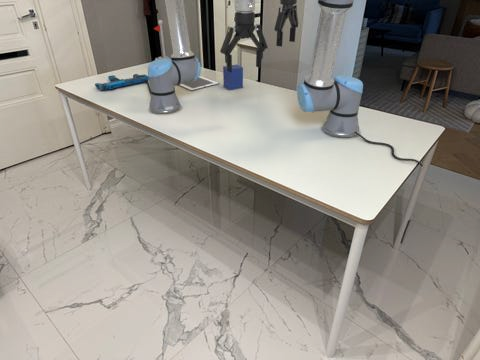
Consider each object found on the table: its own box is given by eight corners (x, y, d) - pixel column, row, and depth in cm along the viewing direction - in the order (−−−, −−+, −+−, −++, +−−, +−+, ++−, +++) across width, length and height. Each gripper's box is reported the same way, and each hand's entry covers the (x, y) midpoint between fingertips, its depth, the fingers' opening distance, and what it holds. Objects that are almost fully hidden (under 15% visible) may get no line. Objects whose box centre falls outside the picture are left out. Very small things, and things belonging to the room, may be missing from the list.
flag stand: (172, 63, 247) (168, 18, 231) (176, 67, 237) (171, 20, 221) (154, 64, 243) (148, 19, 227) (158, 69, 233) (151, 21, 217)
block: (236, 84, 206) (236, 64, 199) (242, 87, 200) (242, 67, 194) (223, 86, 202) (223, 66, 196) (229, 90, 197) (228, 69, 190)
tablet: (163, 78, 216) (163, 77, 215) (189, 72, 227) (189, 71, 226) (191, 90, 195) (191, 90, 195) (219, 83, 206) (219, 83, 206)
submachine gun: (139, 68, 225) (158, 74, 208) (140, 74, 226) (158, 80, 210) (87, 78, 206) (103, 86, 189) (89, 84, 208) (104, 92, 191)
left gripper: (219, 15, 119) (220, 75, 130) (278, 10, 129) (274, 67, 141) (210, 12, 124) (212, 71, 136) (267, 8, 134) (265, 63, 146)
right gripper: (293, -8, 165) (290, 39, 176) (268, -5, 147) (266, 47, 159) (307, -7, 161) (303, 40, 173) (283, -4, 144) (280, 49, 155)
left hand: (244, 69), depth 138 cm, fingers open, 13 cm apart
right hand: (285, 43), depth 166 cm, fingers open, 13 cm apart
